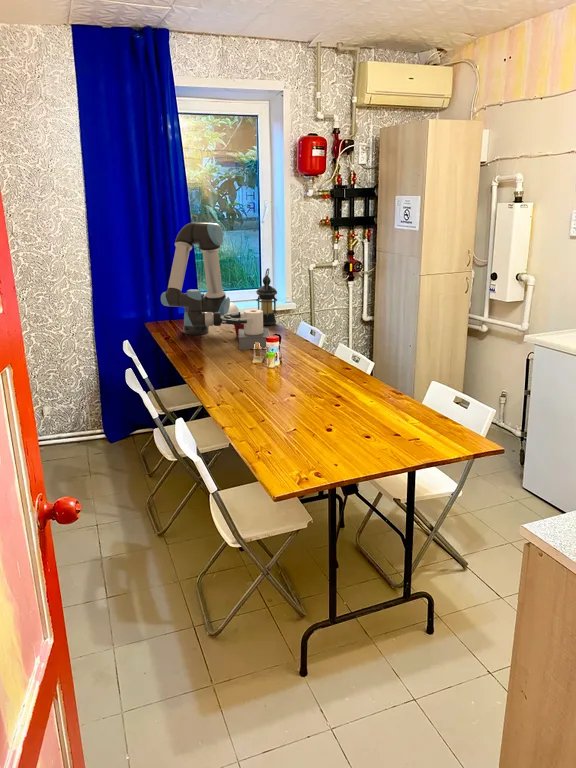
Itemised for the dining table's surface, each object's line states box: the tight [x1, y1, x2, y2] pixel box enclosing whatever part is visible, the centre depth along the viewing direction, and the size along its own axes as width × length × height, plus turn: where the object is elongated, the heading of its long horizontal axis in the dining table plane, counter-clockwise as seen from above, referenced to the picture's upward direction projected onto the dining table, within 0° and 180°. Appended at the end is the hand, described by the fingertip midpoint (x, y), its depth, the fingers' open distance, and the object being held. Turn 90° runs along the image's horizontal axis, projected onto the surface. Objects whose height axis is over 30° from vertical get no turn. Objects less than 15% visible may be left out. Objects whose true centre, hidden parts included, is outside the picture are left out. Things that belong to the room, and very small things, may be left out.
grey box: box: [237, 328, 270, 351], centre depth 327 cm, size 19×17×7 cm
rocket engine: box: [227, 301, 240, 314], centre depth 383 cm, size 12×12×18 cm
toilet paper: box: [243, 308, 264, 335], centre depth 324 cm, size 10×10×12 cm
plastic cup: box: [233, 318, 244, 338], centre depth 345 cm, size 11×11×12 cm
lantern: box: [255, 268, 278, 326], centre depth 370 cm, size 14×13×35 cm
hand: (252, 318), depth 323 cm, fingers open, 13 cm apart
